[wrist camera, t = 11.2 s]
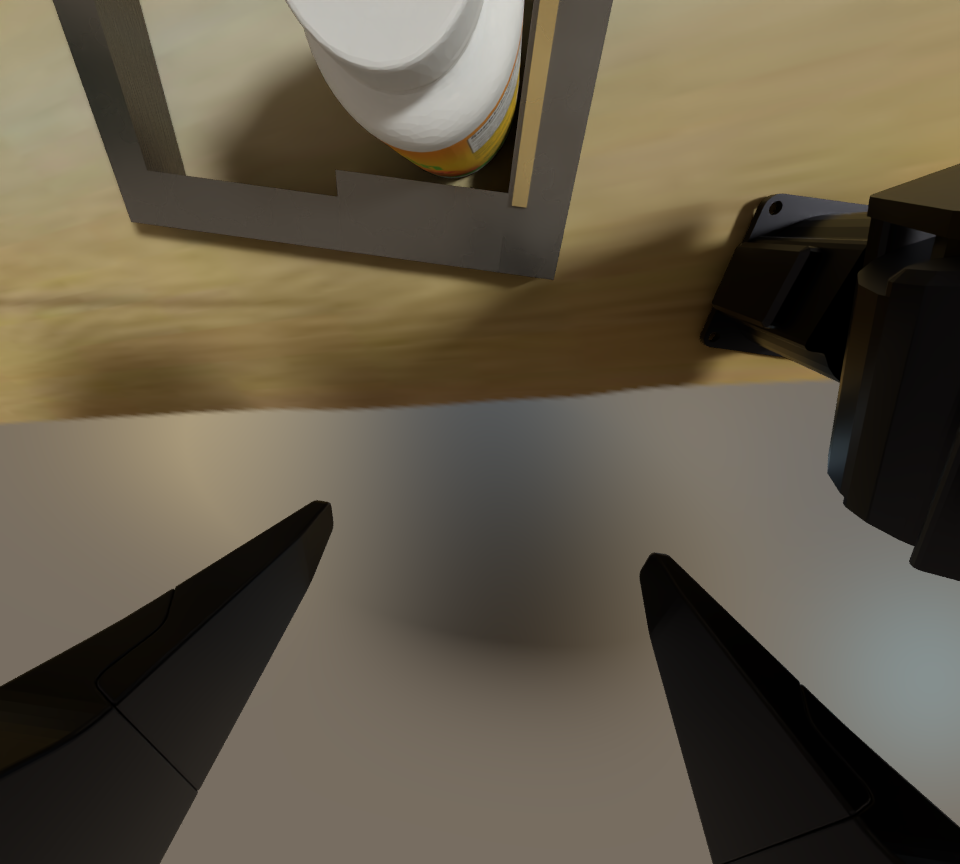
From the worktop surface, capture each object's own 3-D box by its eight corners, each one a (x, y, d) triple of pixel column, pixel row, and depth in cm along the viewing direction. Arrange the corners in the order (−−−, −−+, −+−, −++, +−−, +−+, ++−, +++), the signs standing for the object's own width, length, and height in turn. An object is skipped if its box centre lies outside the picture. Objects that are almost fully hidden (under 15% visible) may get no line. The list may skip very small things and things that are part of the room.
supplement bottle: (363, 118, 14) (160, -34, 6) (430, -48, 12) (245, -695, 4) (467, 208, 16) (419, 185, 7) (546, 74, 13) (609, -187, 5)
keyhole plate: (634, -144, 11) (661, -224, 9) (549, 274, 17) (554, 280, 15) (33, -224, 11) (-69, -321, 9) (169, 222, 17) (126, 221, 15)
